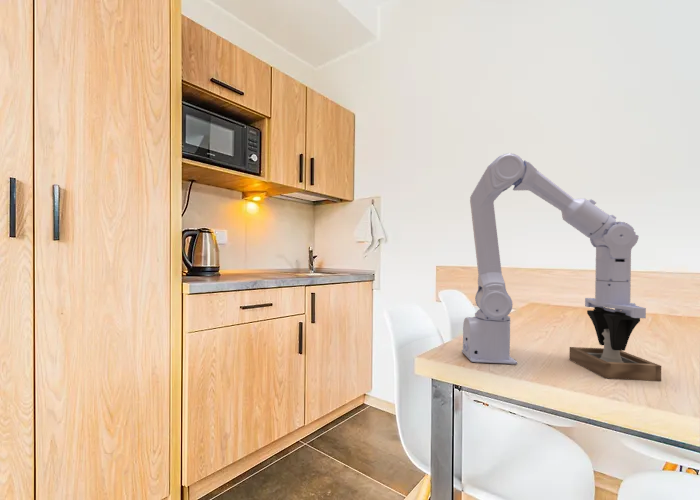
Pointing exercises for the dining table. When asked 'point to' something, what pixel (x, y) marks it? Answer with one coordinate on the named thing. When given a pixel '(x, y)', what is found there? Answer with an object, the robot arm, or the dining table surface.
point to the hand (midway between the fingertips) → (611, 347)
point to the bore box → (615, 365)
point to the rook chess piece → (609, 350)
